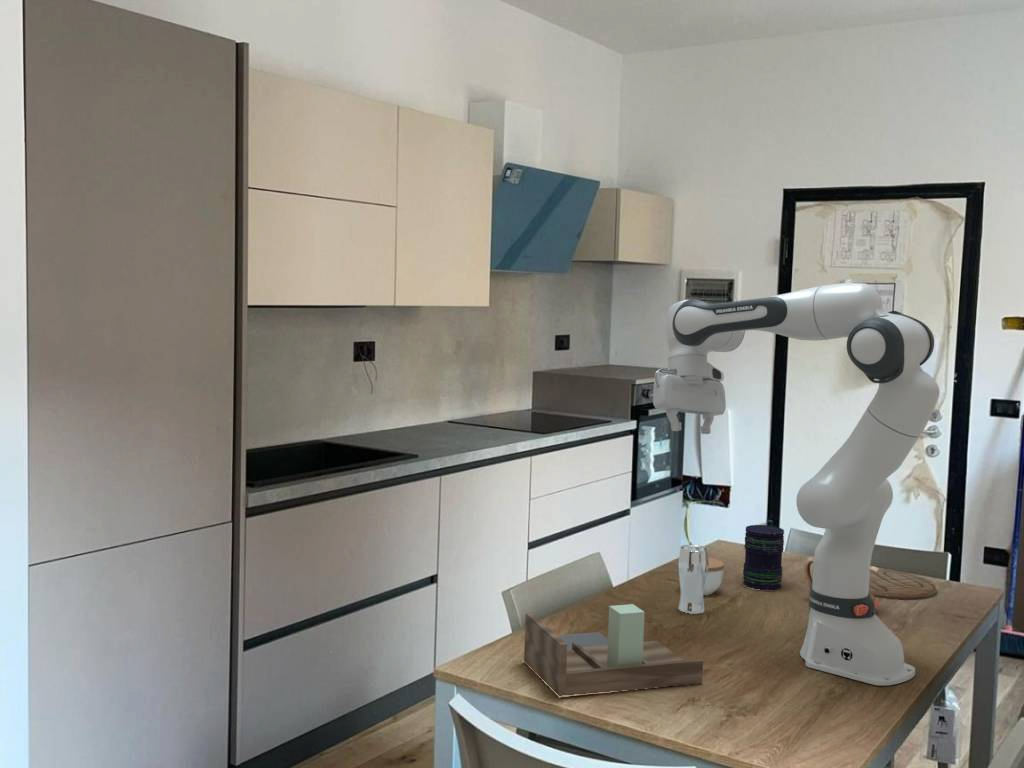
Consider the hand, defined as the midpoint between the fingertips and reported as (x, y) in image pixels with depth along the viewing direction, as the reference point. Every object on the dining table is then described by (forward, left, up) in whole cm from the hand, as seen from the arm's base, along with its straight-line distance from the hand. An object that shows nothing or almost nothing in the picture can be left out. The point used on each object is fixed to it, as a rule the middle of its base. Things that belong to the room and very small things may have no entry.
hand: (691, 432), depth 226 cm
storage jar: (+9, -41, -44) cm, 60 cm away
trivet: (-9, -69, -44) cm, 82 cm away
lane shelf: (-14, +35, -43) cm, 58 cm away
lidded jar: (+14, -23, -44) cm, 51 cm away
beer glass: (+5, -9, -44) cm, 45 cm away
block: (-18, +37, -41) cm, 58 cm away
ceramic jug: (-13, -42, -44) cm, 62 cm away
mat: (+1, +30, -43) cm, 53 cm away
